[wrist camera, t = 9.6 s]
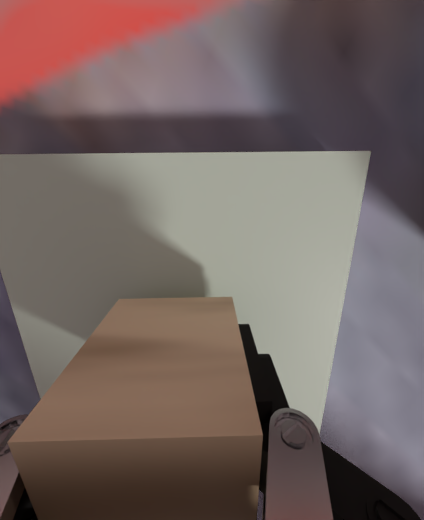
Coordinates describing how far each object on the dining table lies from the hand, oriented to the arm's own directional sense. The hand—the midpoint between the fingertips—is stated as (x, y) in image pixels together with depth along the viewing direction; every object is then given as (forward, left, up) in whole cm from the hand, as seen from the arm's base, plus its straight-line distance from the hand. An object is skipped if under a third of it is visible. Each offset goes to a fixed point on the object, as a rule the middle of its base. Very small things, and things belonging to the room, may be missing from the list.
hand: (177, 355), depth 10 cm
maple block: (0, 0, -1) cm, 1 cm away
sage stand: (0, 0, -5) cm, 5 cm away
